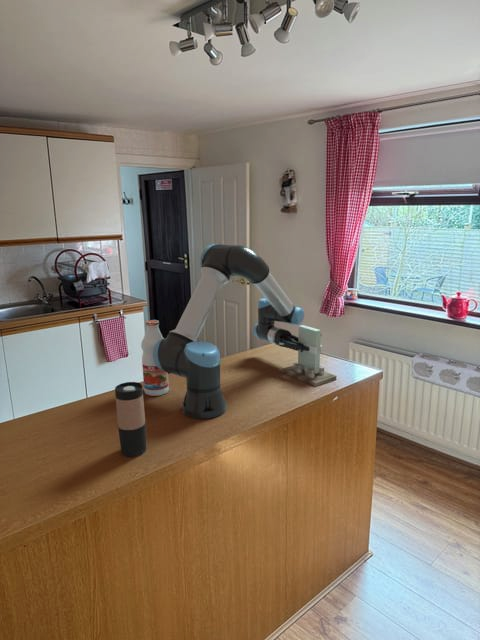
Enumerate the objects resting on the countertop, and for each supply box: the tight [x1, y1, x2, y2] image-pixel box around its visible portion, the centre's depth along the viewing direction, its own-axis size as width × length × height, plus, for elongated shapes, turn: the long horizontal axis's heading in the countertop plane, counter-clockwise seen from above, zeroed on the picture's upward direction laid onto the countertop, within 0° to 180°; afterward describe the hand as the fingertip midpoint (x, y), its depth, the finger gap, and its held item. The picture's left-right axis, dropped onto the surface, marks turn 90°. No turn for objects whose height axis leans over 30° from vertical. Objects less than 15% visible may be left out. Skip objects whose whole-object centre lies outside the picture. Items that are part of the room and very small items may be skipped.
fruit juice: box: [140, 319, 170, 397], centre depth 165 cm, size 9×9×28 cm
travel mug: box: [114, 381, 147, 458], centre depth 125 cm, size 8×8×20 cm
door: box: [297, 324, 322, 374], centre depth 180 cm, size 11×4×18 cm, turn 36°
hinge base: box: [281, 362, 337, 387], centre depth 181 cm, size 20×12×4 cm, turn 36°
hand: (318, 350), depth 174 cm, fingers closed on door, 2 cm apart
